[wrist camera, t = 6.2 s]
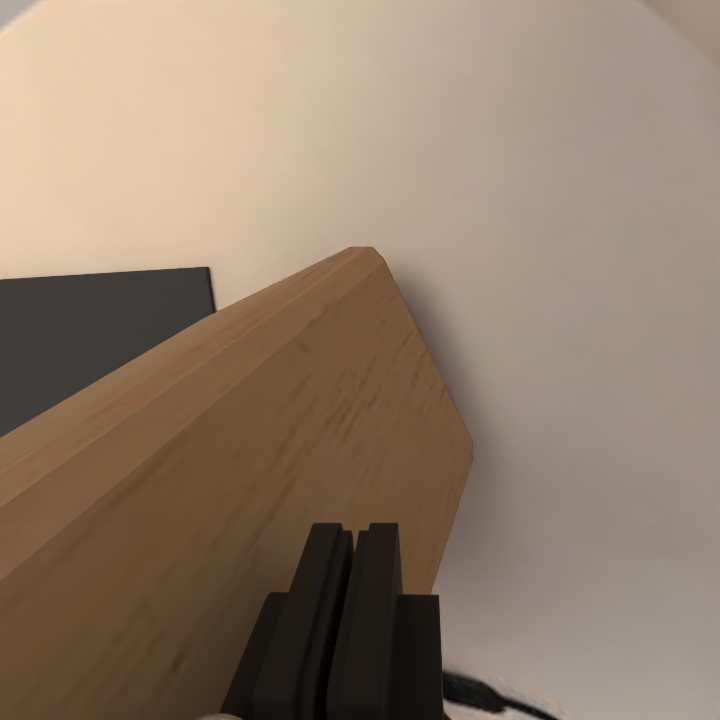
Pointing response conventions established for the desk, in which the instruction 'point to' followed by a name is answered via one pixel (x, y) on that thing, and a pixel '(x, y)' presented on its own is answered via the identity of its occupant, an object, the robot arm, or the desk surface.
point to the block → (216, 492)
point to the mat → (86, 330)
